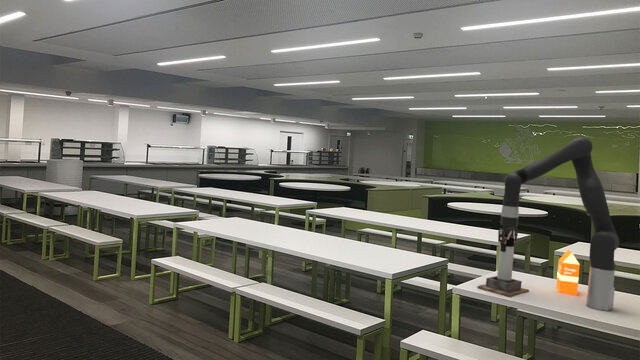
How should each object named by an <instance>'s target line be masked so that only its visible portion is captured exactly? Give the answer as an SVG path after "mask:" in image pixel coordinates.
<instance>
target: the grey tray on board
mask: <svg viewBox="0 0 640 360" xmlns="http://www.w3.org/2000/svg"><path fill="white" fill-rule="evenodd" d="M522 282H523V281H522V280H519V279H514V278H511V282H502V281H499V280H497V275H495V276H491V277H486V282H485V283H484V284H481V285H477V289H480V290H482V291H487V292H490V293H493V294H495V295H496V294H497V295H500V296H504V297H506V298H512V297H516V296H519V295H523V294H527V293H529V292H530V290H529V289H527V288H525V287H524V288H523V287H522Z"/></svg>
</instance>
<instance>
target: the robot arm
mask: <svg viewBox="0 0 640 360" xmlns="http://www.w3.org/2000/svg"><path fill="white" fill-rule="evenodd" d="M592 150H593V142H592V141H591V140H590V139H589V138H586V137H584V136H583V137H582V136H581V137H580V136H579V137H576V138H574V139H572V140H571V141H570V142H569V143H568V144H566V145H564V146H563V147H561V148H559V149H558V150H556V151H554V152H553V153H550V154H548V155H546V156H545V157H542V158H540V159H538V160H536V161H534V162H532V163H529V164H527V165H525V166H524V167H522V168H520V169H518V170H515V171H513V172H511V173H509V174H507V175H505V177H504V194H503V199H502V208H501V215H500V225H501V226H502V229H498V233H497V234H498V237H497V238H498V240H497V241H498V243H501V249H500V248H499V251H502V252H505V251H506V242H507V240H508V239H514V240H515V242H514V244H515V243H516V242H517V241H518V236H519V235H518V234H519V229H518V228H517V227H518V226H519V225H518V224H519V215H520V214H519V213H520V211H519V209H520V207H519V205H520V193H521V186H522V185H523V184H525V183H527V182H529V181H533V180H535V179H537V178H540V177H542V176H543V175H546V174H547V173H549V172H551V171H552V170H555V169H556V168H558V167H559V166H562V165H563V164H565V163H567V162H570V161H571V162H572V165H573V167H574V168H573V169H574V170H575V175H576V180H577V182H576V183H577V185H578V191H579V194H580V195H579V196H580V198H581V202H582V205H583V207H584V209H585V211H586V212H587V214H588V216H589V217H590V219H591V222H592V224H593V229H594V234H593V235H592V236H591V239H590V243H589V244H590V245H589V263H590V264H589V274H588V284H587V295H586V306H587V307H589V308H592V309H595V310H599V311H606V312H608V311H610V310H611V311H612V310H613V309H614V302H615V301H614V300H615V291H616V288H615V286H614V283H615V282H614V281H615V272H616V263H615V251H616V250H618V248H619V245H620V239H619V236H618V233H617V231H616V228H615V227H614V224H613V222H612V219H611V215H610V214H611V213H610V210H609V206H608V205H609V204H608V201H607V197H606V194H605V191H604V187H603V184H602V182H601V180H600V178H599V176H598V174H597V172H596V170H595V168H594V164H593V159H592V154H591V153H592ZM504 239H505V241H504Z"/></svg>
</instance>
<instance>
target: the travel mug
mask: <svg viewBox="0 0 640 360" xmlns="http://www.w3.org/2000/svg"><path fill="white" fill-rule="evenodd" d="M514 239H515V238H514ZM514 239H508V240H507V242H506V251H505V252H502V251H500V249H501V243H500V242H499V243H500V244H499V252H498V263H497V264H498V265H497V275H496V276H497V280H499V281H502V282H511V279H513V278H512V276H513V265H514V252H515V243H516V241H515V240H514ZM504 241H505V239H504ZM514 242H515V243H514Z"/></svg>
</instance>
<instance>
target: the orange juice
mask: <svg viewBox="0 0 640 360" xmlns="http://www.w3.org/2000/svg"><path fill="white" fill-rule="evenodd" d="M557 263H558V265H557V273H556V285H555V289H556V290H557V292H558V293H559V294H564V295H565V294H566V295H572V296H573V295H574V296H577V295H578V287H579V276H580V265H581V264H580V263H579V261H578V260H577V257H575V255H574V253H573V252H572V251H571V250H570V249H567V250H566V251H565V252H564V253H563V255H562V256H561V257H560V258H558V262H557Z"/></svg>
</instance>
